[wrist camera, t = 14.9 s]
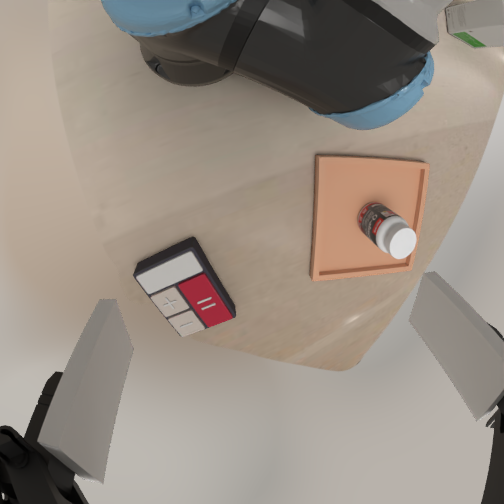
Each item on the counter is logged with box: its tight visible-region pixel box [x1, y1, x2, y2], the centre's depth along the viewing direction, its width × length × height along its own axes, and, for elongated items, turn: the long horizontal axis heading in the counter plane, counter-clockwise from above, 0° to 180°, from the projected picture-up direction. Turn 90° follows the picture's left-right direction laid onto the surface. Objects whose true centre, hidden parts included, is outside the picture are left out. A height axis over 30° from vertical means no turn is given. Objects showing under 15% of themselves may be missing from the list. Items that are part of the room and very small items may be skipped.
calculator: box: [133, 237, 236, 337], centre depth 46 cm, size 11×4×15 cm
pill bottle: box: [358, 202, 416, 259], centre depth 39 cm, size 6×6×10 cm
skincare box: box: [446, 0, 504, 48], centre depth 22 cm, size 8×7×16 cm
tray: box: [309, 155, 430, 281], centre depth 44 cm, size 20×20×2 cm
